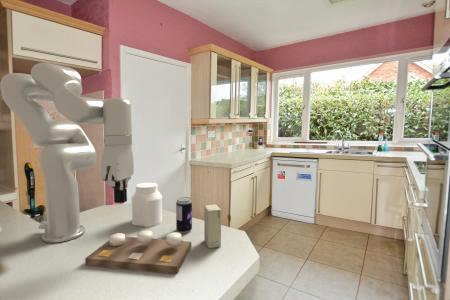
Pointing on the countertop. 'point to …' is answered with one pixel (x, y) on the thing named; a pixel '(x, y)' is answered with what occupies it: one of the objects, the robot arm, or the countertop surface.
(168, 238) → the button right
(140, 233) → the button middle
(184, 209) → the beverage can
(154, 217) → the jar
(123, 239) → the button left
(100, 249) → the button board
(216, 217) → the skincare box
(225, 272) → the countertop surface
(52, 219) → the robot arm
